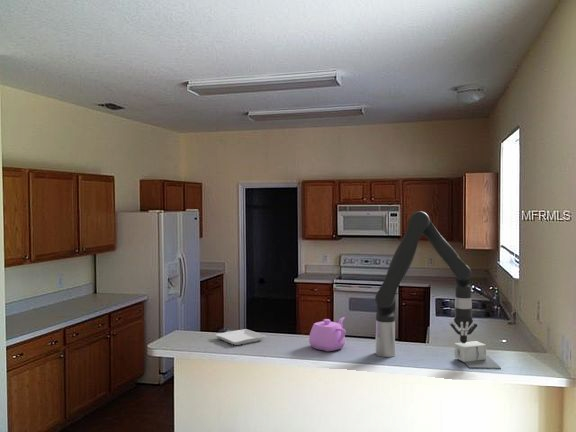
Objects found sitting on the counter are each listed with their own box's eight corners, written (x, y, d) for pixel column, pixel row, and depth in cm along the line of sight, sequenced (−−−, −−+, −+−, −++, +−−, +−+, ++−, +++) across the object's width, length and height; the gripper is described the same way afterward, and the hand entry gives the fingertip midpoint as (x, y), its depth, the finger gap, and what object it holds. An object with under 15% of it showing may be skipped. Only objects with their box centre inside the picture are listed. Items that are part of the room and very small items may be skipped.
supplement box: (463, 346, 230) (486, 344, 233) (454, 342, 237) (476, 340, 241) (463, 362, 230) (486, 359, 233) (454, 358, 237) (476, 355, 241)
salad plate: (245, 333, 288) (245, 328, 288) (266, 341, 271) (266, 335, 271) (214, 340, 275) (214, 333, 275) (234, 348, 258) (234, 342, 258)
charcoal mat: (469, 368, 223) (469, 367, 223) (459, 356, 241) (459, 355, 241) (500, 369, 222) (500, 367, 222) (488, 356, 240) (488, 355, 240)
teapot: (334, 356, 242) (334, 326, 242) (304, 347, 257) (304, 319, 257) (362, 347, 258) (362, 318, 258) (332, 339, 273) (332, 312, 273)
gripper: (450, 308, 229) (451, 344, 229) (480, 308, 227) (480, 345, 228) (447, 305, 236) (447, 340, 237) (475, 305, 235) (475, 341, 235)
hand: (463, 342), depth 232 cm, fingers closed
